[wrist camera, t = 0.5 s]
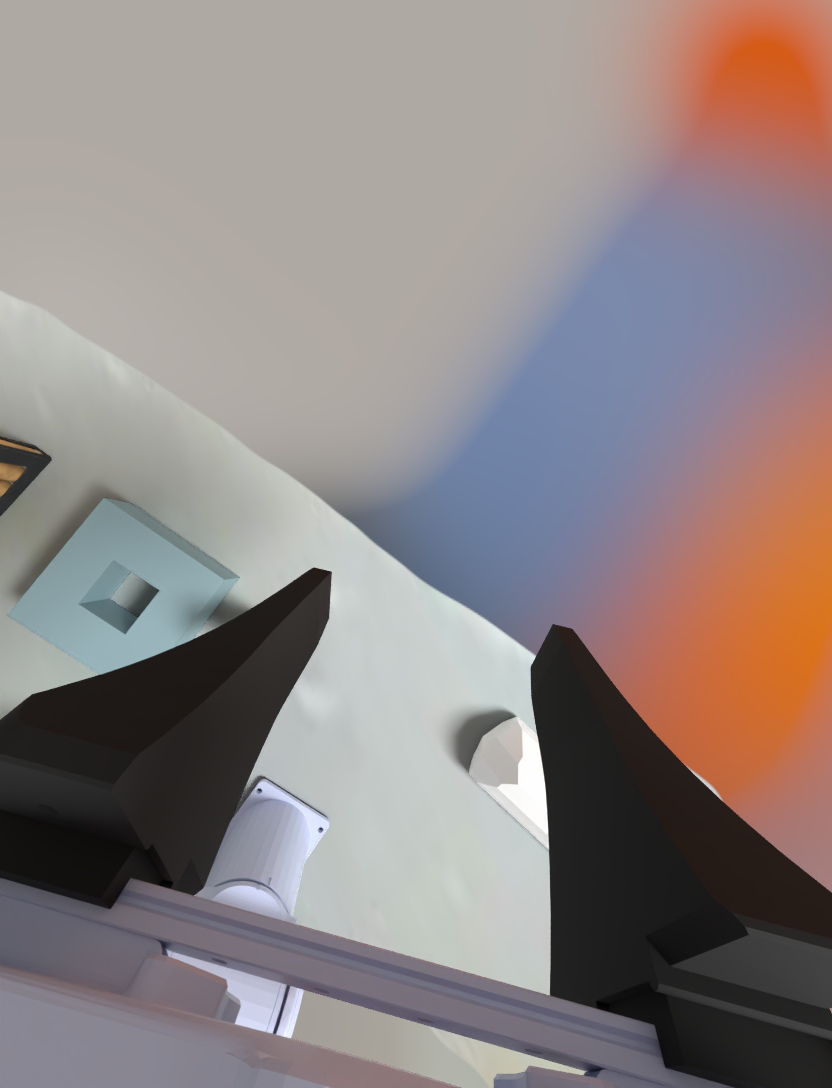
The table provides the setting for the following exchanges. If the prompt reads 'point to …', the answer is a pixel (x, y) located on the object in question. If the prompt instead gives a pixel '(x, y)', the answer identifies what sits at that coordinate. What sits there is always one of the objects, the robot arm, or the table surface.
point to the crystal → (514, 774)
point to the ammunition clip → (18, 469)
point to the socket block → (98, 570)
